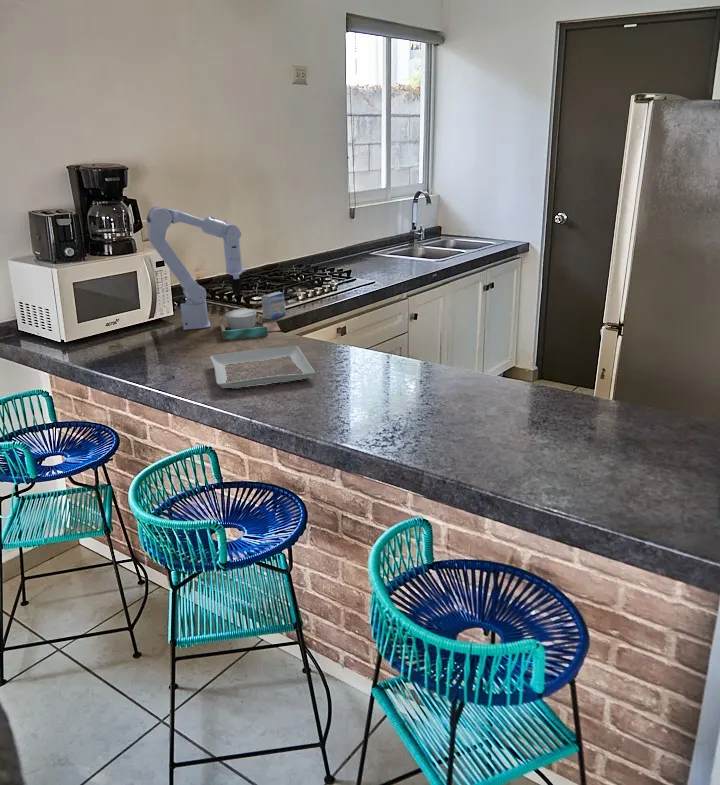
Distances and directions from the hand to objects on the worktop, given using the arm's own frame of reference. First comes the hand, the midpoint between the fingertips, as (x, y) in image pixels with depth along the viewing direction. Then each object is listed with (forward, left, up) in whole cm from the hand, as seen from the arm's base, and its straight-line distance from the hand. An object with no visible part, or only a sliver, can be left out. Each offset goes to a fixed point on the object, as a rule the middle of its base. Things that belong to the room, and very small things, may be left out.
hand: (237, 294), depth 261 cm
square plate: (+1, -65, -10) cm, 65 cm away
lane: (+3, -15, -9) cm, 18 cm away
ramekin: (0, -11, -10) cm, 14 cm away
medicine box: (+13, -1, -10) cm, 16 cm away
